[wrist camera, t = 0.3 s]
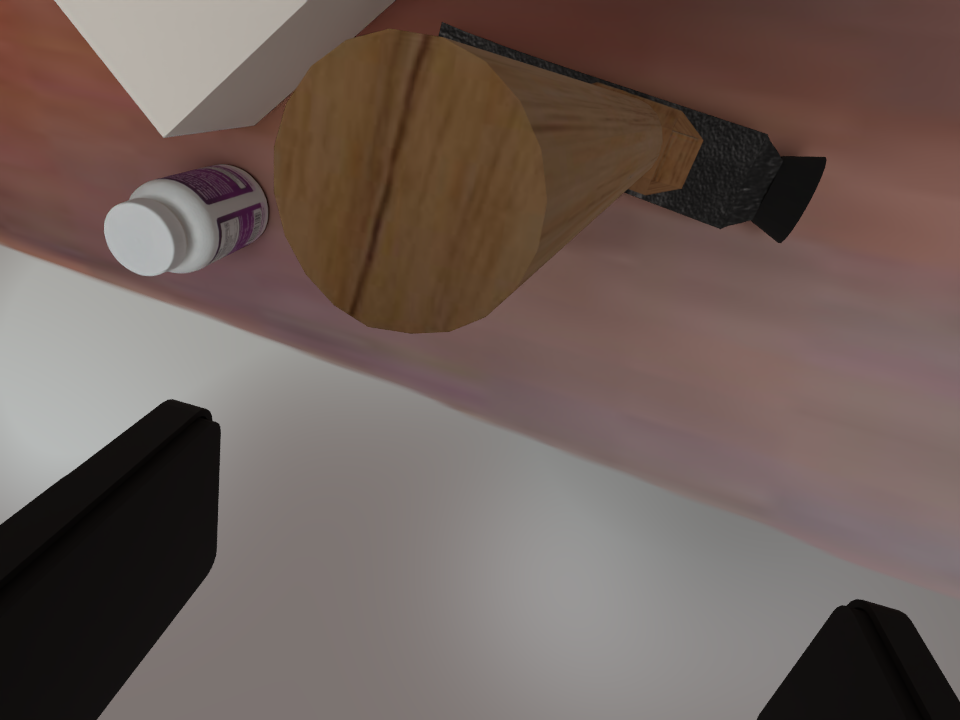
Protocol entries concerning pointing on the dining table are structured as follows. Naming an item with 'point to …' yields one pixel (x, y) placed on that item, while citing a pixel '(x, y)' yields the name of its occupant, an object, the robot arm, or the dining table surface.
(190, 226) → the pill bottle
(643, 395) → the dining table surface
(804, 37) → the dining table surface
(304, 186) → the hammer
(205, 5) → the desk
